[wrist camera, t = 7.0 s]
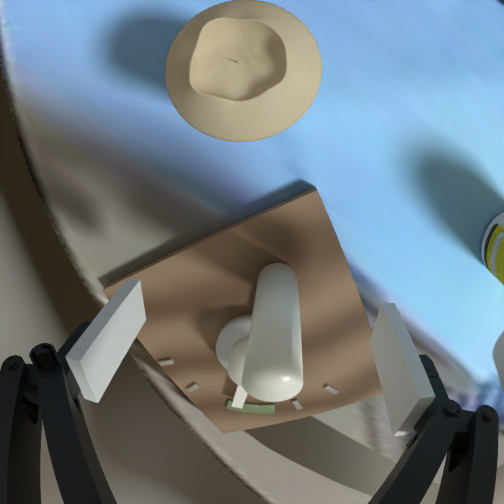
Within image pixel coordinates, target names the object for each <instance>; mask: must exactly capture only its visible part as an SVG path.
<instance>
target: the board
mask: <svg viewBox="0 0 504 504" xmlns="http://www.w3.org/2000/svg"><path fill="white" fill-rule="evenodd" d="M272 263H283V264H286V265H288V266H290V267H291V268H292V269H293V270H294V271H295V273H296V275H297V280H298V294H299V309H300V326H301V344H302V365H303V387H302V389H301V391H300V392H299V393H298V394H297V395H296V396H294V397H292V398H290V399H288V400H285V401H280V402H267V401H262V400H258V399H256V398H254V397H252V396H250V395H249V394H247V397H246V400H245V402H244V405H243V408H242V409H241V408H236V407H232V406H231V405H232V400H233V397H234V394H235V391H236V388H237V384H236V383H234V382H233V381H232V380H231V379H230V377H229V375H228V372H227V369H225V368H224V367H223V366H222V364H221V363H220V361H219V360H218V358H217V355H216V343H217V340H218V336H219V333H220V331H221V329H222V328H223V326H224V325H225V324H226V323H227V322H229V321H230V320H232V319H234V318H236V317H238V316H242V315H246V314H252V313H253V307H254V301H255V295H256V288H257V282H258V276H259V273H260V272H261V270H262V269H263V268H264V267H265V266H267V265H269V264H272ZM128 278H132V279H139V280H140V282H141V289H142V296H143V302H144V309H145V315H146V321H145V323H144V324H143V326H142V327H141V329H140V331H139V332H138V334H137V336H136V337H137V338H138V339H139V341H140V342H141V343H142V344H143V346H144V347H145V348H146V349H147V351H148V352H149V353H150V354H151V355H152V357H153V358H154V359H155V360H156V361H157V363H158V364H159V365H160V366H161V367H162V369H163V370H164V371H165V372H166V373H167V374H168V375H169V377H170V378H171V379H172V380H173V381H174V382H175V383H176V385H177V386H178V387H179V388H180V389H181V390H182V391H183V392H184V393H185V394H186V396H187V397H188V398H189V399H190V400H191V401H192V402H193V403H194V404H195V405H196V406H197V407H198V408H199V409H200V410H201V411H202V412H203V413H204V414H205V415H206V416H207V417H208V418H209V419H210V420H211V421H212V422H213V423H214V424H215V425H216V426H217V427H218V428H219V429H220V430H221V431H222V432H223V433H227V432H234V431H240V430H246V429H252V428H257V427H262V426H268V425H272V424H277V423H281V422H286V421H291V420H295V419H299V418H303V417H307V416H311V415H315V414H318V413H322V412H326V411H329V410H333V409H336V408H339V407H343V406H346V405H349V404H352V403H355V402H358V401H361V400H364V399H367V398H370V397H373V396H376V395H379V394H381V393H383V390H382V387H381V383H380V379H379V375H378V372H377V368H376V365H375V361H374V358H373V354H372V351H371V347H370V344H369V340H370V337H371V334H372V331H371V328H370V325H369V322H368V319H367V316H366V313H365V310H364V307H363V304H362V301H361V299H360V296H359V293H358V290H357V287H356V285H355V282H354V279H353V277H352V274H351V271H350V269H349V266H348V263H347V261H346V258H345V256H344V253H343V251H342V248H341V246H340V243H339V241H338V238H337V236H336V233H335V231H334V228H333V226H332V223H331V221H330V219H329V216H328V214H327V212H326V209H325V207H324V205H323V202H322V200H321V198H320V195H319V193H318V191H317V189H316V187H314V188H312V189H310V190H307V191H305V192H303V193H300V194H298V195H296V196H294V197H291V198H289V199H287V200H284V201H282V202H280V203H278V204H275V205H273V206H271V207H269V208H267V209H264V210H262V211H260V212H258V213H255V214H253V215H251V216H249V217H247V218H244V219H242V220H240V221H238V222H236V223H234V224H231V225H229V226H227V227H225V228H223V229H221V230H218V231H216V232H214V233H212V234H210V235H208V236H206V237H204V238H201V239H199V240H197V241H195V242H193V243H191V244H189V245H187V246H185V247H183V248H180V249H178V250H176V251H174V252H172V253H170V254H168V255H166V256H164V257H162V258H160V259H158V260H156V261H154V262H152V263H150V264H148V265H146V266H143V267H141V268H139V269H137V270H135V271H133V272H131V273H129V274H127V275H125V276H123V277H121V278H119V279H117V280H115V281H113V282H111V283H110V284H108V285H107V286H106V287H105V288H104V289H103V292H104V293H105V295H106V296H107V297H108V299H109V300H110V299H111V298H112V297H113V295H114V294H115V293H116V292H117V291H118V289H119V288H120V287H121V286H122V285H123V284H124V282H125V281H126V280H127V279H128Z"/></svg>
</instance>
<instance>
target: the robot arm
mask: <svg viewBox="0 0 504 504" xmlns="http://www.w3.org/2000/svg"><path fill="white" fill-rule="evenodd" d="M145 321H146V315H145V309H144V302H143V296H142V289H141V282H140V280H139V279H132V278H128V279H127V280H126V281H125V282H124V284H123V285H122V286H121V287H120V288H119V289H118V291H117V292H116V293H115V294H114V295H113V297H112V298H111V299H110V300H109V302H108V303H107V304H106V305H105V306H104V308H103V309H102V310H101V311H100V313H99V314H98V315H97V316H96V318H95V319H94V320H93V322H89V321H85V322H84V323H82V324H81V325H79V326H78V327H77V328H76V329H75V331H74V332H73V334H71V336H70V337H69V339H67V341H66V342H65V343H64V344H63V346H62V347H61V348H60V349H59V351H58V352H57V353H56V350H55V348H54V346H53V345H51V344H48V343H41V344H39V345H37V346H35V347H34V348H33V349H32V350H31V352H30V355H29V356H30V358H31V361H32V363H33V364H25V362H24V360H23V358H22V357H20V356H17V355H14V356H10V357H8V358H7V359H6V360H5V361H4V362H3V364H2V367H1V370H0V504H41V492H40V491H41V490H40V449H41V431H42V419H43V425H44V430H45V435H46V440H47V445H48V449H49V454H50V458H51V462H52V465H53V469H54V473H55V476H56V480H57V483H58V487H59V489H60V493H61V496H62V499H63V502H64V504H117V503H116V500H115V498H114V496H113V494H112V492H111V489H110V487H109V485H108V482H107V480H106V478H105V475H104V473H103V470H102V468H101V465H100V463H99V460H98V457H97V455H96V452H95V449H94V446H93V443H92V440H91V438H90V435H89V432H88V428H87V425H86V422H85V419H84V415H83V412H82V408H81V405H80V401H79V399H78V397H77V396H78V394H79V393H80V391H81V392H82V394H83V396H84V398H85V399H88V400H91V401H93V402H96V403H98V402H99V400H100V398H101V397H102V395H103V393H104V391H105V390H106V388H107V386H108V384H109V382H110V380H111V379H112V377H113V375H114V374H115V372H116V370H117V368H118V366H119V365H120V363H121V361H122V360H123V358H124V356H125V354H126V353H127V351H128V349H129V348H130V346H131V344H132V343H133V341H134V339H135V338H136V336H137V334H138V332H139V331H140V329H141V327H142V326H143V324H144V323H145ZM369 344H370V347H371V351H372V354H373V358H374V361H375V365H376V368H377V372H378V375H379V379H380V383H381V387H382V390H383V394H384V398H385V402H386V406H387V410H388V414H389V418H390V423H391V427H392V431H393V436H400V435H408V434H409V433H410V432H411V430H412V429H413V428H414V429H415V433H416V434H415V436H414V437H413V438H412V439H411V441H410V442H409V443H408V444H407V445H406V446H407V448H406V450H405V452H404V453H403V455H402V456H401V458H400V459H399V461H398V463H397V464H396V466H395V467H394V469H393V470H392V471H391V473H390V474H389V476H388V478H387V479H386V480H385V482H384V483H383V484H382V486H381V487H380V488H379V490H378V491H377V492H376V494H375V495H374V496H373V498H372V499H371V500H370V501H369V503H368V504H420V502H421V501H422V499H423V497H424V495H425V494H426V492H427V490H428V488H429V486H430V485H431V483H432V481H433V479H434V477H435V475H436V473H437V471H438V469H439V468H440V465H441V463H442V461H443V459H444V457H445V455H446V453H447V456H446V461H445V466H444V471H443V476H442V480H441V484H440V489H439V493H438V496H437V500H436V503H435V504H492V503H493V496H494V489H495V481H496V470H497V458H498V414H497V412H496V411H495V410H494V409H493V408H492V407H490V406H488V405H482V406H480V407H479V408H478V409H477V410H476V412H473V411H466V410H462V409H461V407H460V405H459V404H458V403H457V402H455V401H454V400H450V399H449V398H448V395H447V393H446V390H445V388H444V386H443V383H442V381H441V379H440V377H439V374H438V372H437V371H436V368H435V365H434V363H433V361H432V360H431V359H430V358H429V357H428V356H427V355H418V353H417V351H416V348H415V346H414V344H413V342H412V339H411V337H410V335H409V333H408V331H407V329H406V326H405V324H404V322H403V320H402V318H401V316H400V314H399V312H398V310H397V308H396V306H395V304H394V303H382V304H381V307H380V310H379V313H378V316H377V319H376V322H375V325H374V328H373V331H372V334H371V337H370V340H369Z"/></svg>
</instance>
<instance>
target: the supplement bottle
mask: <svg viewBox="0 0 504 504" xmlns="http://www.w3.org/2000/svg"><path fill="white" fill-rule="evenodd" d="M481 256H482V260H483V263H484V265H485V266H486V268H487V269H488V270H489V271H490V272H491V273H492V274H493V275H494V276H495V277H496V278H497V279H498V280H499V281H500V282H501V283H502V284H503V285H504V212H503V213H501V214H499V215H498V216H496V217H495V218H494V219H493V220H492V222H491V223H490V224H489V226H488V228H487V229H486V231H485V234H484V236H483V240H482V246H481Z"/></svg>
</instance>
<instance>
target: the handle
mask: <svg viewBox="0 0 504 504" xmlns="http://www.w3.org/2000/svg"><path fill="white" fill-rule="evenodd" d="M216 355H217V358H218V360H219V361H220V363H221V364H222V366H223V367H224V368H225V369H227V372H228V375H229V377H230V379H231V380H232V381H233V382H234V383H236V384H237V388H236V391H235V394H234V397H233V400H232V405H231V406H232V407H236V408H241V409H242V408H243V405H244V402H245V400H246V397H247V394H249V395H250V396H252V397H254V398H256V399H258V400H262V401H267V402H280V401H285V400H288V399H290V398H292V397H294V396H296V395H297V394H298V393H299V392H300V391H301V389H302V387H303V365H302V344H301V326H300V309H299V294H298V280H297V275H296V273H295V271H294V270H293V269H292V268H291V267H290V266H288V265H286V264H283V263H272V264H269V265H267V266H265V267H264V268H263V269H262V270H261V272H260V273H259V276H258V282H257V288H256V295H255V301H254V307H253V313H252V314H246V315H242V316H238V317H236V318H234V319H232V320H230V321H229V322H227V323H226V324H225V325H224V326H223V328H222V329H221V331H220V333H219V336H218V340H217V343H216Z"/></svg>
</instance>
